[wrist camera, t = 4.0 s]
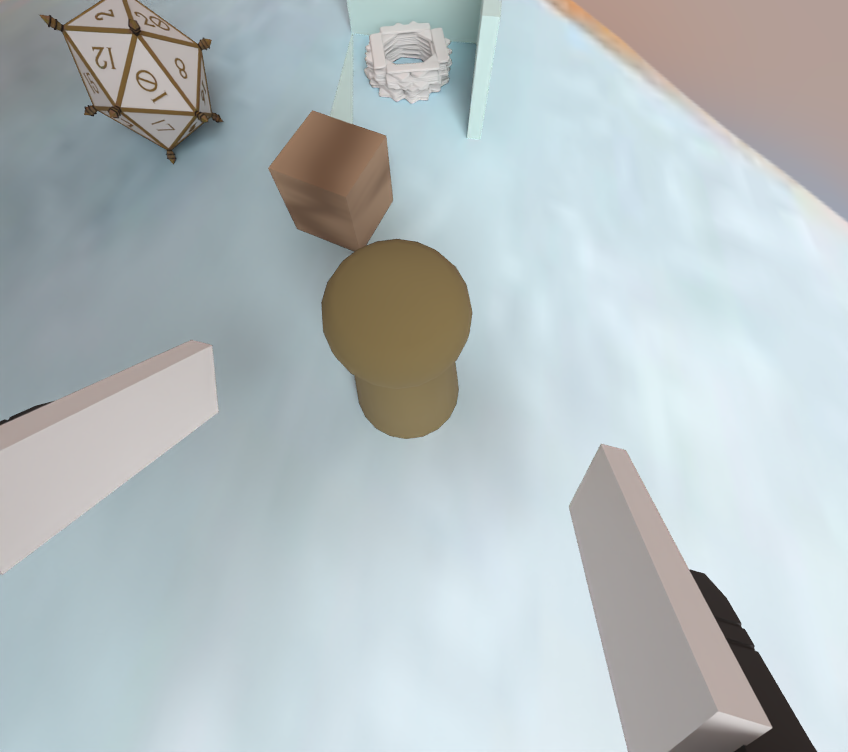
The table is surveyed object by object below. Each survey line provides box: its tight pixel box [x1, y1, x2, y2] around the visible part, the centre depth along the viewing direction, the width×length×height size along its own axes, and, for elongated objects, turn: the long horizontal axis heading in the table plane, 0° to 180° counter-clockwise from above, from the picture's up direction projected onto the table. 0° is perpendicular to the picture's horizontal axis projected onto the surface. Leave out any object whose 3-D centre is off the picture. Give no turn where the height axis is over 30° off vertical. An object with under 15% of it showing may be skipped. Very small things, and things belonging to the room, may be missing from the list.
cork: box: [321, 239, 472, 439], centre depth 16 cm, size 6×6×11 cm
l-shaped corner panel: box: [330, 0, 502, 139], centre depth 26 cm, size 12×12×8 cm
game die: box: [40, 0, 223, 164], centre depth 24 cm, size 9×8×10 cm
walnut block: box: [268, 110, 393, 252], centre depth 23 cm, size 5×5×5 cm
